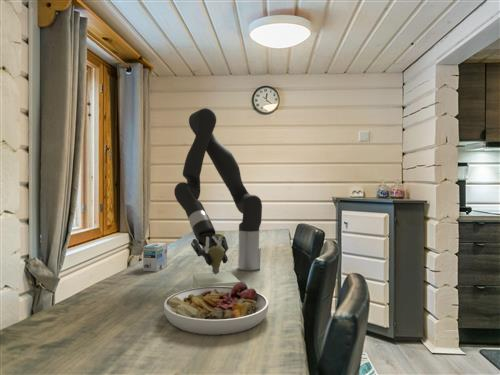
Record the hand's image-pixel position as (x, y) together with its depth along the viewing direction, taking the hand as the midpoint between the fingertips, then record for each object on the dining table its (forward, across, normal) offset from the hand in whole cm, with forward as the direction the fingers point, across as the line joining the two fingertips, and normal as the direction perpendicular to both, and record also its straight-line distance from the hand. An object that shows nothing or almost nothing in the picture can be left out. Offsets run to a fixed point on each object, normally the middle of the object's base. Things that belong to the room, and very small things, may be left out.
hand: (218, 263), depth 130 cm
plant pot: (-39, +42, +55) cm, 79 cm away
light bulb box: (-24, -3, +40) cm, 47 cm away
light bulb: (+2, 0, +4) cm, 5 cm away
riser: (+6, 0, +9) cm, 11 cm away
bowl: (+21, -12, -5) cm, 25 cm away
